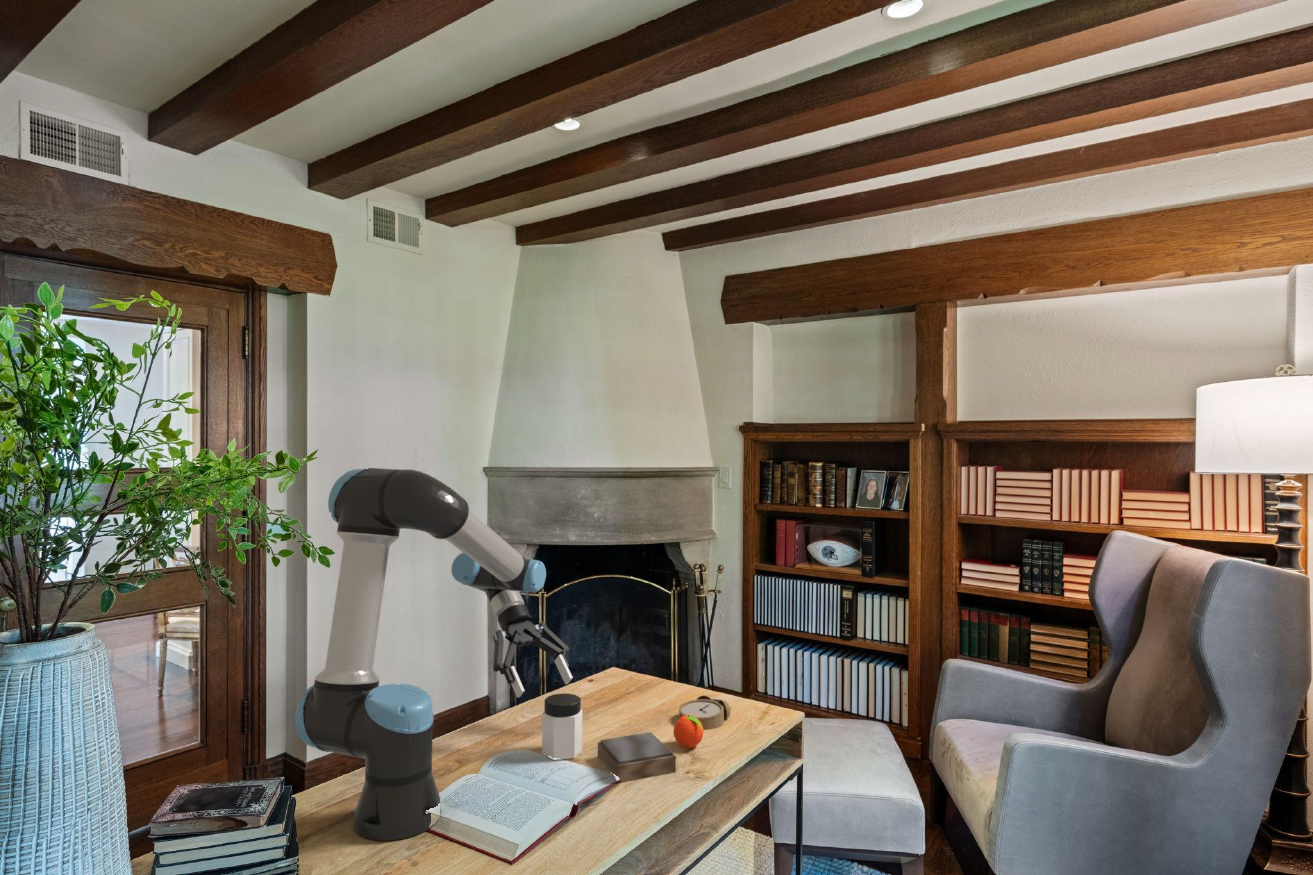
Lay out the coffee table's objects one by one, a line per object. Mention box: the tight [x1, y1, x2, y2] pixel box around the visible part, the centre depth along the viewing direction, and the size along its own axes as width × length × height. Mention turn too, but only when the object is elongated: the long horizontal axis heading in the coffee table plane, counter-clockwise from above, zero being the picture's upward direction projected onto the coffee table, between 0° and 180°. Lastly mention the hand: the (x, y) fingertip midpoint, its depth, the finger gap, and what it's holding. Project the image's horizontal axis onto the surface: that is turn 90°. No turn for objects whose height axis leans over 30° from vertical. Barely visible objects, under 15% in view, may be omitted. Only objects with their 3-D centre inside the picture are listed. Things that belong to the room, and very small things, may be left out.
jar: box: [541, 693, 583, 760], centre depth 166 cm, size 9×8×12 cm
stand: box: [597, 731, 677, 783], centre depth 160 cm, size 13×13×4 cm
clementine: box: [673, 715, 705, 749], centre depth 169 cm, size 8×7×7 cm
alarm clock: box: [675, 694, 732, 731], centre depth 187 cm, size 11×5×15 cm
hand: (545, 687), depth 172 cm, fingers open, 13 cm apart
